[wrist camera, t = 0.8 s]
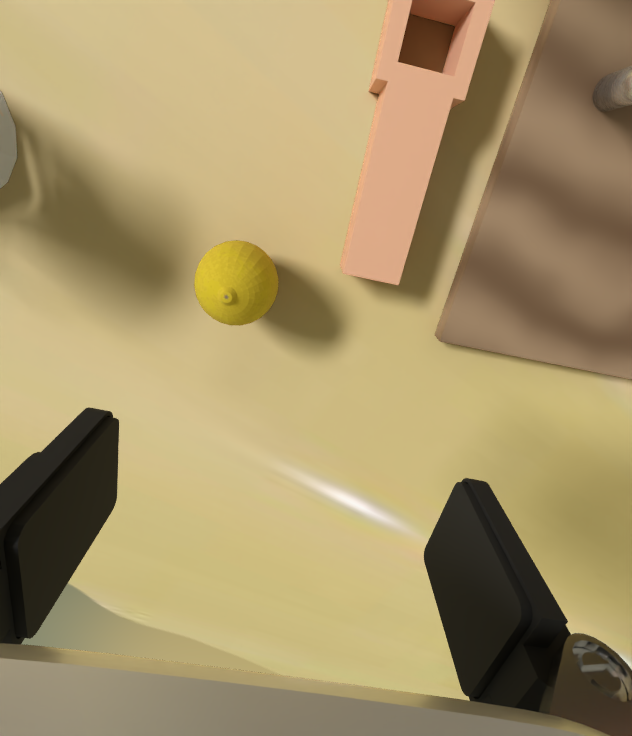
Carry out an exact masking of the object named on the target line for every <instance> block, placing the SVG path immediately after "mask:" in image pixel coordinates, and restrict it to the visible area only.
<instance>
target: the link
mask: <svg viewBox="0 0 632 736" xmlns="http://www.w3.org/2000/svg"><path fill="white" fill-rule="evenodd" d="M494 2H495V0H389V1H388V6H387V10H386V15H385V19H384V24H383V29H382V33H381V38H380V42H379V47H378V51H377V56H376V61H375V65H374V70H373V74H372V79H371V83H370V88H369V92H373V93H377V94H379V96H378V101H377V105H376V110H375V114H374V118H373V123H372V127H371V131H370V136H369V140H368V145H367V149H366V153H365V158H364V162H363V167H362V171H361V175H360V180H359V184H358V189H357V193H356V197H355V202H354V206H353V210H352V215H351V219H350V224H349V228H348V232H347V237H346V241H345V246H344V250H343V254H342V259H341V263H340V266H341V269H342V272H343V274H347V275H352V276H357V277H362V278H366V279H371V280H376V281H381V282H385V283H390V284H395V285H399V282H400V279H401V275H402V272H403V268H404V265H405V262H406V258H407V255H408V251H409V248H410V244H411V241H412V238H413V234H414V231H415V227H416V224H417V220H418V217H419V214H420V210H421V207H422V203H423V200H424V197H425V193H426V190H427V186H428V183H429V179H430V176H431V173H432V169H433V166H434V162H435V159H436V156H437V152H438V149H439V145H440V142H441V138H442V135H443V132H444V128H445V125H446V121H447V118H448V114H449V111H450V109H451V108H453V107H455V106H456V105H458V104H460V103H462V102H463V101H465V98H466V95H467V91H468V88H469V85H470V81H471V78H472V75H473V71H474V68H475V65H476V61H477V58H478V55H479V52H480V48H481V45H482V42H483V38H484V35H485V32H486V28H487V25H488V22H489V19H490V15H491V12H492V9H493V5H494ZM409 14H412V15H416V16H420V17H423V18H427V19H431V20H434V21H438V22H442V23H445V24H449V25H453V26H455V28H454V32H453V35H452V39H451V43H450V46H449V50H448V53H447V57H446V61H445V64H444V68H443V72H442V73H439V72H435V71H431V70H427V69H423V68H420V67H416V66H412V65H408V64H404V63H400V62H398V59H399V54H400V50H401V46H402V42H403V38H404V33H405V29H406V25H407V21H408V16H409Z"/></svg>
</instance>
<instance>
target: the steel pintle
mask: <svg viewBox="0 0 632 736" xmlns="http://www.w3.org/2000/svg"><path fill="white" fill-rule="evenodd" d="M593 104H594V106H595V107H596V108H597V109H598V110H599V111H610V110H614V109H618V108H622V107H625V106H629V105H632V66H629V67H627V68H624V69H622V70H619V71H616V72H614V73H611V74H609V75H606V76H605V77H603V78H602V79H601V80H600V81H599V82H598V83H597V85H596V87H595V89H594V92H593Z"/></svg>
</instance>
